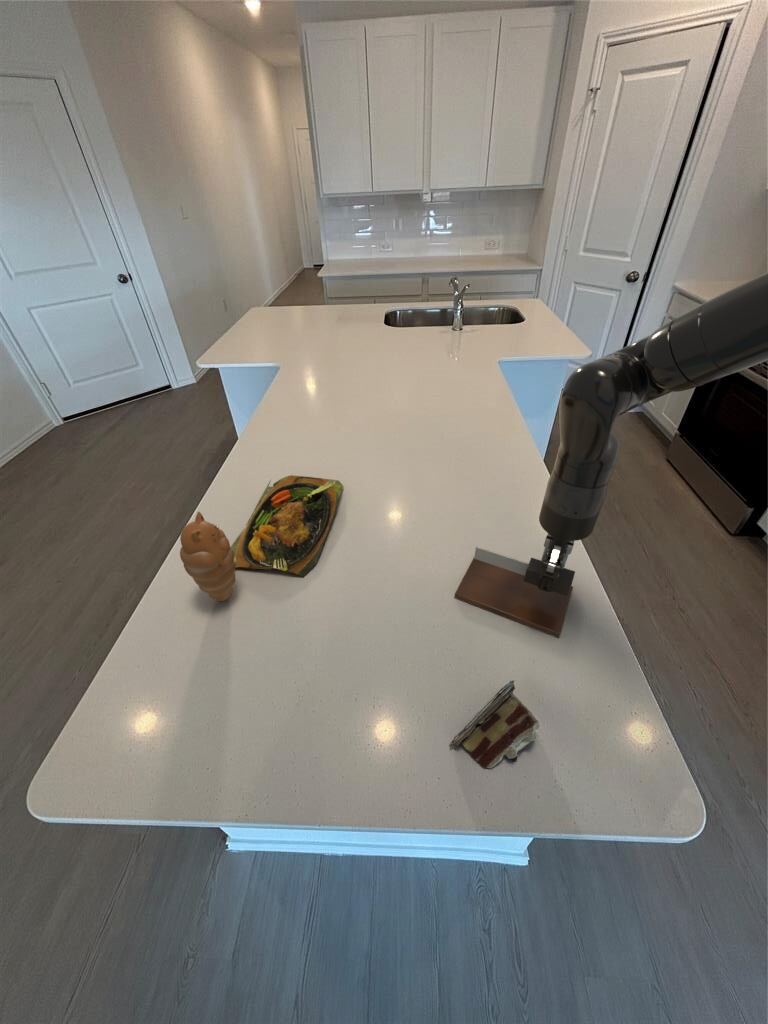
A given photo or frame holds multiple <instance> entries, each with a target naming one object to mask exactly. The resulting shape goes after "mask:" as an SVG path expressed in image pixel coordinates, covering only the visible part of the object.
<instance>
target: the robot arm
mask: <svg viewBox="0 0 768 1024" xmlns="http://www.w3.org/2000/svg"><path fill="white" fill-rule="evenodd" d="M767 361H768V271H767V272H765V273H762V274H760V275H758V276H756V277H754V278H752V279H751V278H750V279H749V280H747V281H745V282H742V283H741V284H738V285H737V286H735V287H733V288H730V289H728V290H727V291H724V292H722V293H720V294H719V295H716V296H715V297H713V298H710V299H709V300H707V301H705V302H703V303H701V304H699V305H697V306H695V307H693V308H692V309H690V310H688V311H686V312H684V313H682V314H680V315H678V316H677V317H675V318H673V319H671V320H669V321H667V322H666V323H664V324H663V325H662V326H660V327H658V328H657V329H655V331H653V332H652V333H651V334H650V335H647V336H645V337H643V338H641V339H639V340H637V341H635V342H633V343H630V344H629V345H626V346H624V347H622V348H620V349H618V350H615V351H613V352H611V353H609V354H606V355H604V356H602V357H600V358H597V359H595V360H592V361H589V362H587V363H584V364H582V365H581V366H579V367H577V368H576V369H574V370H573V372H572V373H571V374H570V375H569V377H568V378H567V379H566V381H565V383H564V386H563V387H562V391H561V392H560V393H561V394H560V398H559V405H558V406H559V407H558V411H559V412H558V414H559V415H558V416H559V417H558V418H559V438H560V444H559V447H558V450H557V454H556V458H555V461H554V465H553V469H552V471H551V474H550V476H549V478H548V481H547V485H546V488H545V492H544V496H543V500H542V504H541V508H540V512H539V516H538V522H539V524H540V527H541V528H542V529H543V530H544V531H545V532H546V533H547V534H546V536H545V540H544V543H543V547H544V549H543V553H542V556H541V559H540V560H541V561H542V564H541V565H542V568H541V572H540V573H539V579H540V581H539V584H538V588H539V589H540V590H543V591H546V592H552V589H553V586H554V584H555V583H556V582H557V580H558V579H557V577H559V571H561V569H563V568H566V567H565V566H566V564H567V560H568V558H569V555H571V554H572V551H573V549H574V545H575V542H576V541H581V540H584V539H586V538H588V537H590V535H592V533H593V531H594V529H595V526H596V523H597V520H598V518H599V515H600V514H601V513H600V512H601V509H602V506H603V504H604V501H605V499H606V496H607V493H608V487H609V482H610V479H611V476H612V474H613V472H614V469H615V466H616V463H617V459H618V456H619V454H620V448H621V447H620V445H621V444H620V440H619V438H618V437H617V436H616V434H615V433H614V432H612V430H613V427H614V426H615V425H614V424H615V422H616V421H617V419H618V417H621V416H623V415H624V414H626V413H628V412H630V411H631V410H634V409H636V408H639V407H641V406H642V405H644V404H647V403H649V402H651V401H653V400H656V399H659V398H660V397H663V396H666V395H668V394H670V393H676V392H684V391H687V390H691V389H695V388H698V387H701V386H704V385H707V384H709V383H711V382H714V381H717V380H720V379H722V378H725V377H728V376H730V375H733V374H736V373H739V372H741V371H744V370H747V369H749V368H752V367H755V366H756V365H759V364H762V363H764V362H767Z"/></svg>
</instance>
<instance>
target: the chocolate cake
mask: <svg viewBox="0 0 768 1024" xmlns="http://www.w3.org/2000/svg"><path fill="white" fill-rule="evenodd" d="M515 682H516V680H509V682H507V683H506V684H505V685H504V686H502V687H501V688H500V689H499V690H498V691H497V692H495V694H494V695H493V696H492V697H491V698H490V700H489V701H487V703H486V704H485V705H484V706H483V707H482V708H481V709H480V710H479V711H478V712H476V714H475V715H474V716H473V717H472V718H471V720H470V721H469V722H468V723H467V724H466V725H465V726H464V727H463V728H462V729H461V730H460V731H459V732H458V733H457V734H456V735H455V736H454V737H453V739H452V740H451V741H450V743H449V744H453V745H454V746H455V747H458V746H459V744H462V746H463V747H464V749H465V750H467V751H468V752H469V754H470V755H471V756H472V757H473V758H474V760H475V761H477V762H478V764H479V765H480V766H481V767H482V768H483V769H492V768H493V767H495V766H497V765H498V763H499V762H501V761H502V759H503V758H504V756H506V758H507V759H510V760H511V761H512V762H515V761H517V760H518V752H519V751H521V750H522V749H524V748H525V747H526V746H528V745H529V744H530V743H532V741H537V739H538V736H539V735H538V733H537V732H536V730H538V729H539V728H540V722H539V720H537V717H535V716H534V714H533V713H532V711H531V710H529V709H528V708H527V706H526V705H524V704H523V702H522V701H521V700H520V699H519V698H518V697H517V696H516V695H515V694H514V691H515V690H516V686H515Z"/></svg>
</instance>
